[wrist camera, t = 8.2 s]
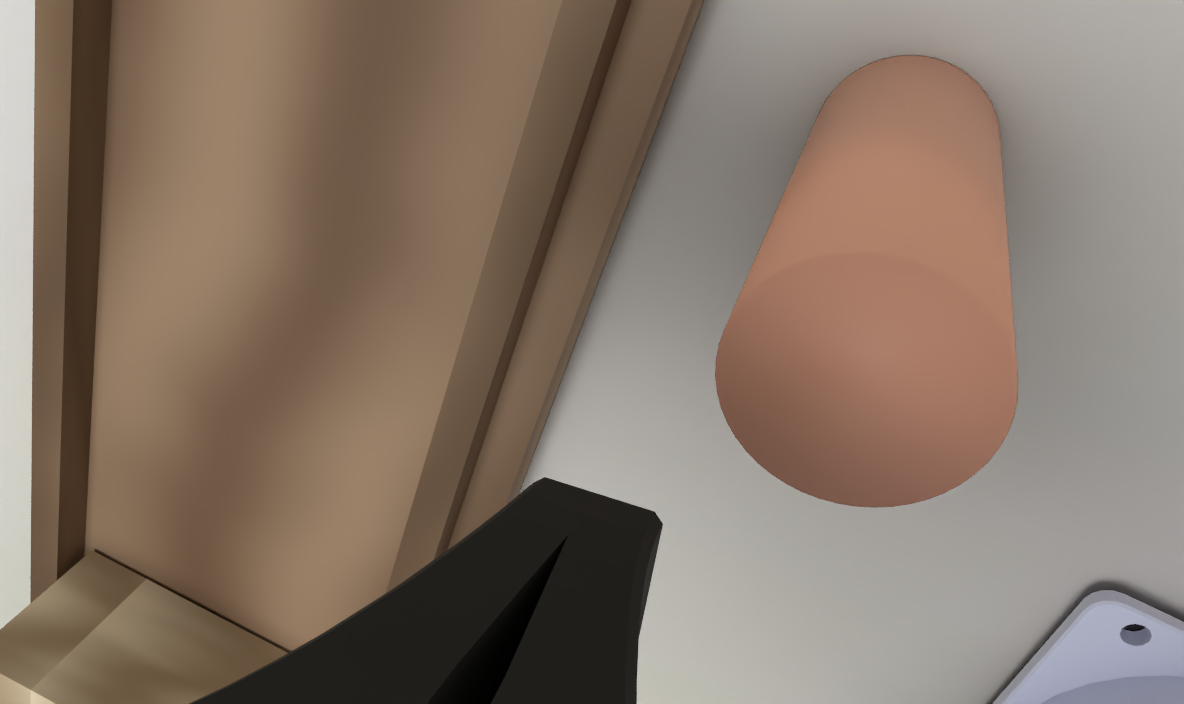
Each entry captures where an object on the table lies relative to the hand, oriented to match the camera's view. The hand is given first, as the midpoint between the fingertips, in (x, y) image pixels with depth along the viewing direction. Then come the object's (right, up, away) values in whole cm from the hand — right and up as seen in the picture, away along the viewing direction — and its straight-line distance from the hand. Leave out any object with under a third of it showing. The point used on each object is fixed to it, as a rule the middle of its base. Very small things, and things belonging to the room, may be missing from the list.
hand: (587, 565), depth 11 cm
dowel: (+5, +6, +6) cm, 10 cm away
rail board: (-8, 0, +14) cm, 16 cm away
